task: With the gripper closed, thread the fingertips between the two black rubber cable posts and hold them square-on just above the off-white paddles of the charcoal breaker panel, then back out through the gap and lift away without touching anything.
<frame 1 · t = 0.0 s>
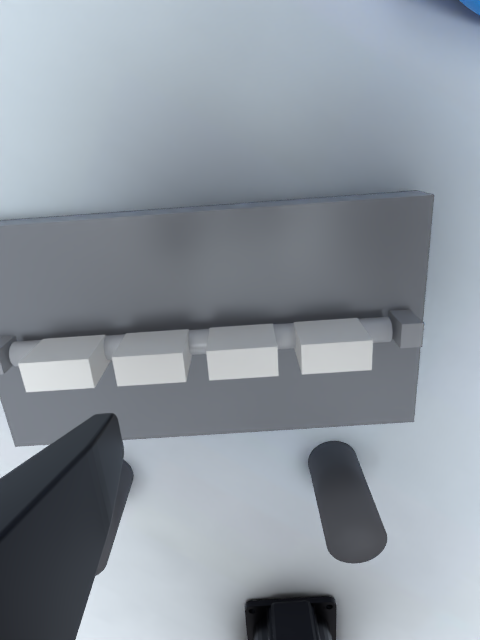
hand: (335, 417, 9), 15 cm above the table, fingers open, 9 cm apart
breaker paddles: (199, 350, 20), point 4 cm above the table, hinge at 0.0°
breaker panel: (204, 319, 24), on the table
cable post 2: (109, 474, 28), on the table
cable post 1: (332, 461, 28), on the table
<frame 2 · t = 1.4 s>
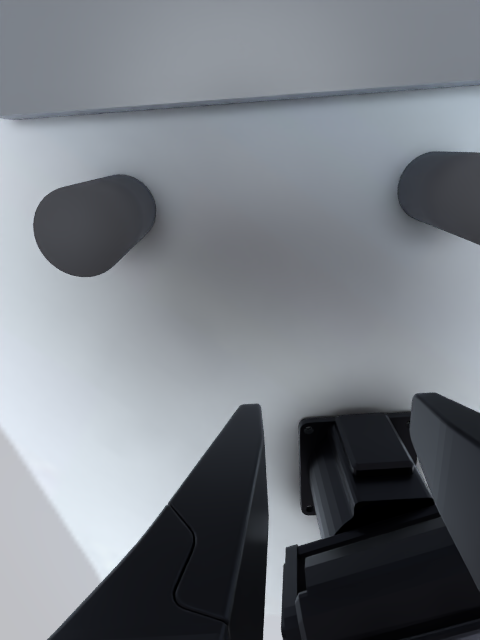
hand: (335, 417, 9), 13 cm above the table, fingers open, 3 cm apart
cable post 2: (123, 209, 20), on the table
cable post 1: (431, 187, 20), on the table
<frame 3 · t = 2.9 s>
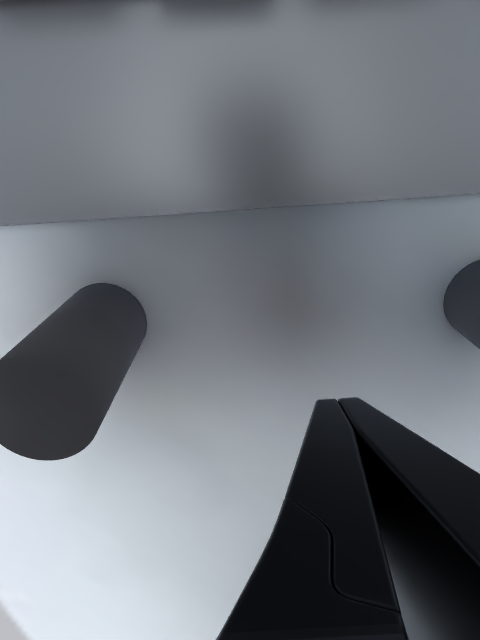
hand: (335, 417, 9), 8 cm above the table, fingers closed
cable post 2: (106, 322, 16), on the table
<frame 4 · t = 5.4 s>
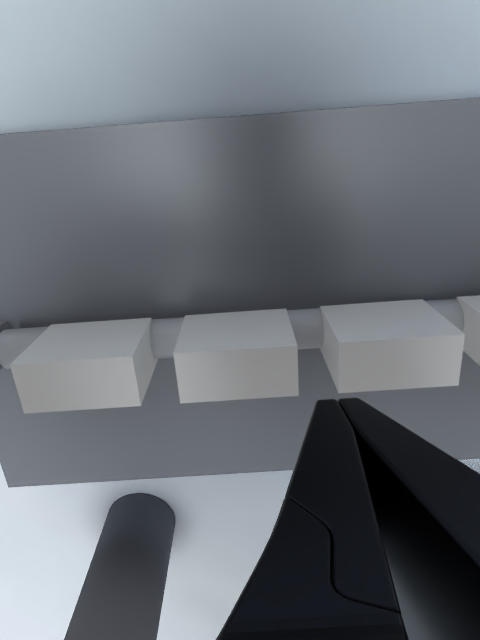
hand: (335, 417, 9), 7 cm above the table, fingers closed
breaker paddles: (308, 342, 12), point 4 cm above the table, hinge at 0.0°
breaker panel: (292, 298, 16), on the table
cable post 2: (141, 519, 20), on the table
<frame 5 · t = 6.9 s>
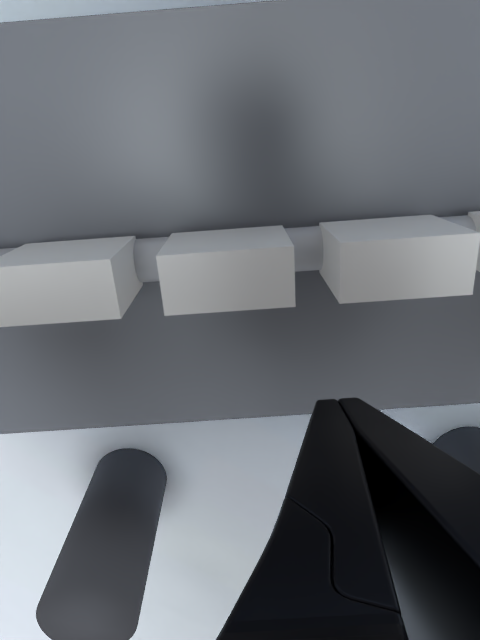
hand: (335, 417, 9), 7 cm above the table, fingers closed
breaker paddles: (306, 258, 11), point 4 cm above the table, hinge at 0.0°
breaker panel: (289, 230, 15), on the table
cable post 2: (131, 477, 19), on the table
cable post 1: (462, 456, 19), on the table
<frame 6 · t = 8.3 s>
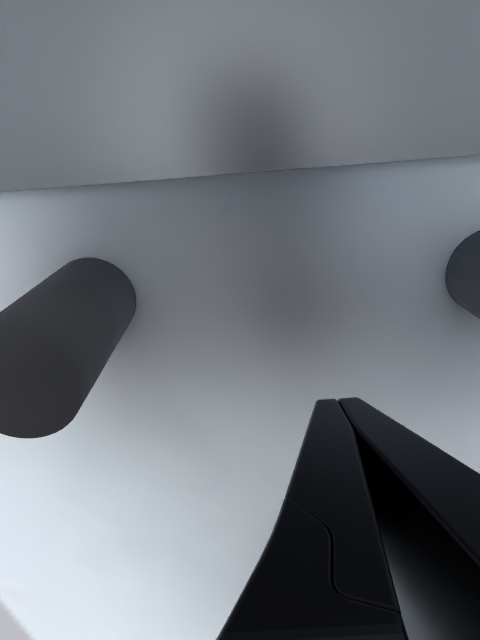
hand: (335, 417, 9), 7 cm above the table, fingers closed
cable post 2: (93, 298, 16), on the table
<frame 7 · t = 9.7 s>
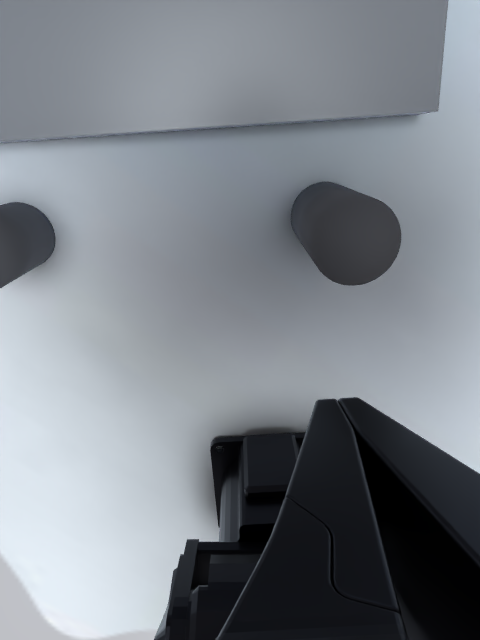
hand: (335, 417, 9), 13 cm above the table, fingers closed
cable post 2: (22, 235, 21), on the table
cable post 1: (323, 215, 20), on the table
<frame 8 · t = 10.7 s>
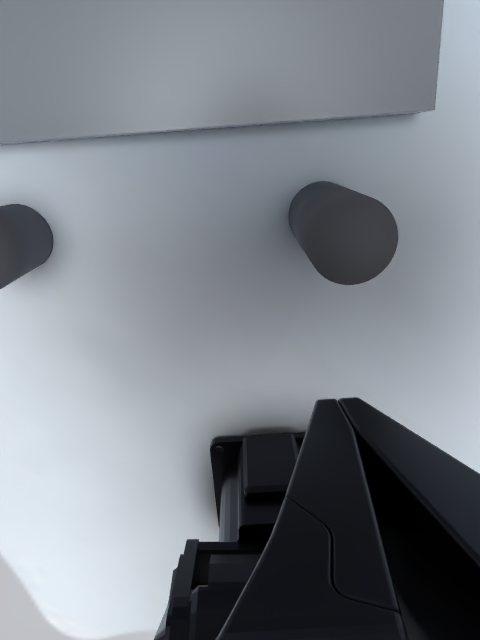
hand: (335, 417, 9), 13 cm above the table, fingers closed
cable post 2: (20, 237, 21), on the table
cable post 1: (320, 215, 20), on the table
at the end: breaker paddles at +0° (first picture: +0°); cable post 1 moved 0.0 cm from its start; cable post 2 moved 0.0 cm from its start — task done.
